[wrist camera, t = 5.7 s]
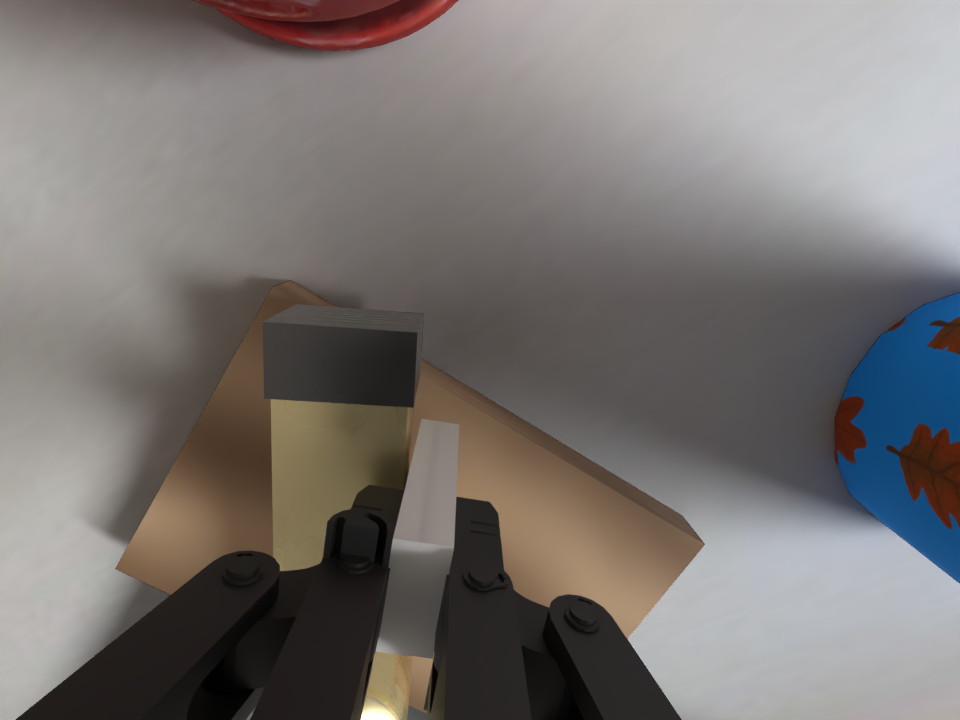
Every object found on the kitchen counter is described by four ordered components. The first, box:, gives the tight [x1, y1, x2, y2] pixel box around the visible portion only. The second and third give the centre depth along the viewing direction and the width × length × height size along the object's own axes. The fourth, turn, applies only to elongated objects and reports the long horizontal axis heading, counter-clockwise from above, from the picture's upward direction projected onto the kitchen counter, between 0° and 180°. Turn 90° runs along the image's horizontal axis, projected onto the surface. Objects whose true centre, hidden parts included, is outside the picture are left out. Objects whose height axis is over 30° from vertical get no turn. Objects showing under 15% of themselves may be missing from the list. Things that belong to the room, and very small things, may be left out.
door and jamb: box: [115, 280, 705, 720], centre depth 20 cm, size 24×20×5 cm
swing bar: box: [263, 304, 424, 720], centre depth 17 cm, size 15×4×3 cm, turn 175°
